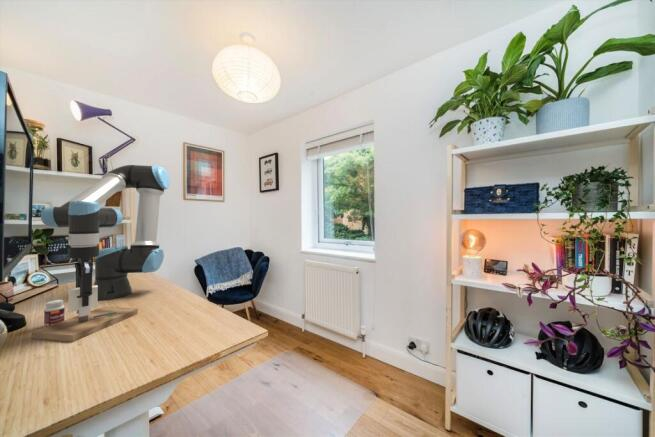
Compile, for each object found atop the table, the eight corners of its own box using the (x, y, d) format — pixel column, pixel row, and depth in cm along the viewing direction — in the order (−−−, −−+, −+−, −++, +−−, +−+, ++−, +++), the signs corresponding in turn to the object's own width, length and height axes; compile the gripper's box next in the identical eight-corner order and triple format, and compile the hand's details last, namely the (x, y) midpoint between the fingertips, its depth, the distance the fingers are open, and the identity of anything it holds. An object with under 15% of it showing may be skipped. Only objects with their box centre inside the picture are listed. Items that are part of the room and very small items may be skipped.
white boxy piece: (68, 321, 83) (69, 288, 83) (115, 312, 91) (115, 282, 91) (68, 324, 81) (68, 290, 81) (116, 314, 89) (116, 284, 89)
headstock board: (104, 311, 98) (104, 306, 98) (137, 313, 96) (137, 308, 96) (31, 338, 76) (31, 331, 76) (73, 341, 74) (73, 334, 74)
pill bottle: (50, 329, 82) (50, 304, 82) (40, 328, 83) (40, 303, 83) (68, 323, 87) (68, 299, 87) (58, 322, 88) (58, 298, 88)
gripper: (64, 244, 86) (63, 311, 86) (72, 249, 76) (71, 324, 76) (93, 243, 92) (93, 305, 92) (104, 246, 82) (103, 316, 82)
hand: (83, 313), depth 84 cm, fingers closed on white boxy piece, 3 cm apart
